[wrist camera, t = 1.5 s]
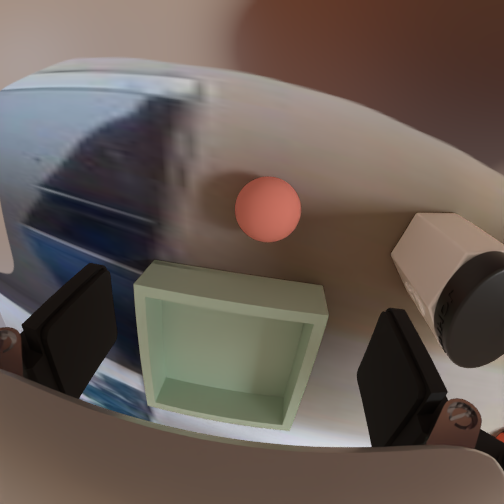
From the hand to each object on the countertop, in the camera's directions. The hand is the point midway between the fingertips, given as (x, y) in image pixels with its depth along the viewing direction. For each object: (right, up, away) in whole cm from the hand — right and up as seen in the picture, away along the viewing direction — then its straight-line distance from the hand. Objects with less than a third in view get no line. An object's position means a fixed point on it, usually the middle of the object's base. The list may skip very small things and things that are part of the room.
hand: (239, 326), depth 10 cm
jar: (+17, +3, +16) cm, 24 cm away
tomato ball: (+2, +6, +14) cm, 15 cm away
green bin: (-2, -7, +22) cm, 23 cm away
